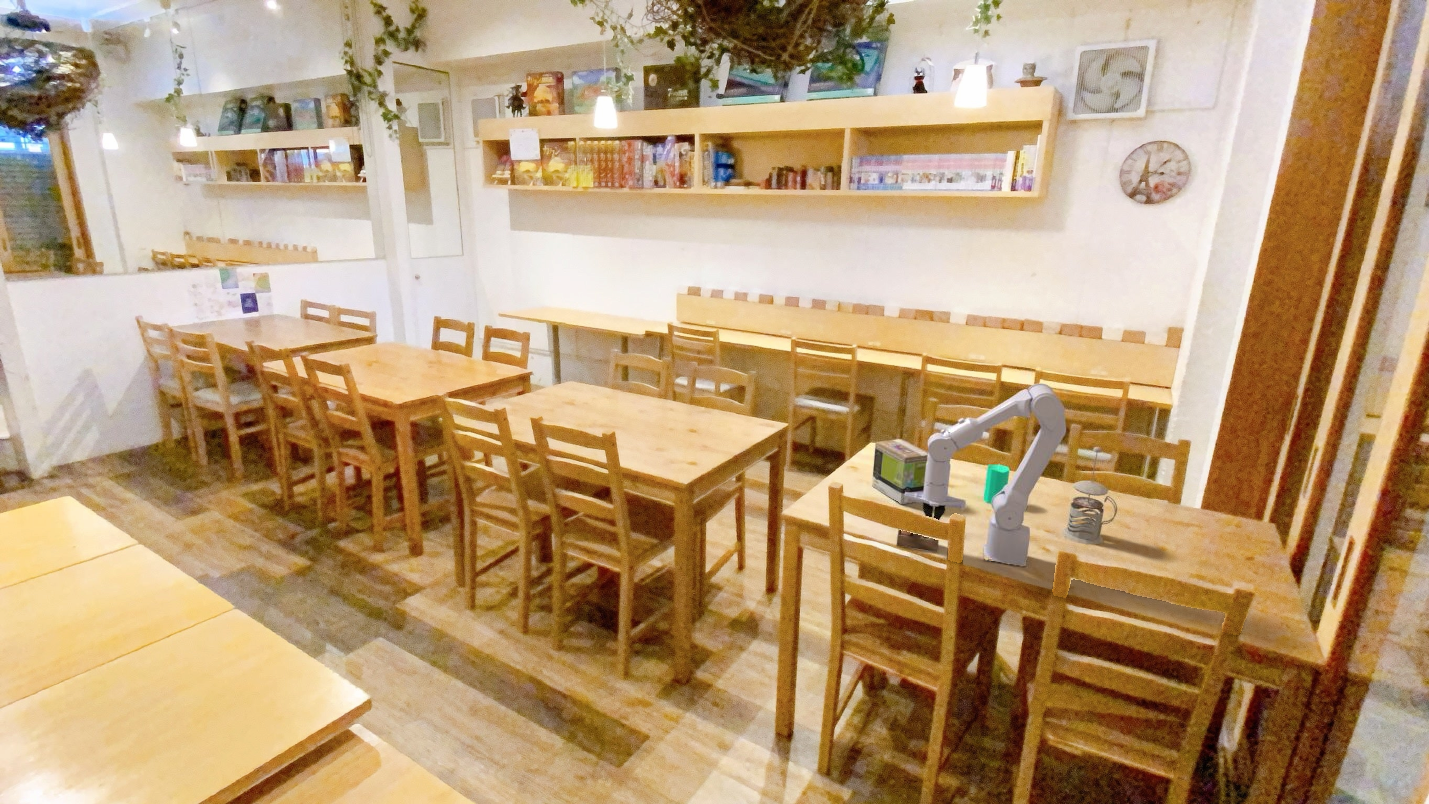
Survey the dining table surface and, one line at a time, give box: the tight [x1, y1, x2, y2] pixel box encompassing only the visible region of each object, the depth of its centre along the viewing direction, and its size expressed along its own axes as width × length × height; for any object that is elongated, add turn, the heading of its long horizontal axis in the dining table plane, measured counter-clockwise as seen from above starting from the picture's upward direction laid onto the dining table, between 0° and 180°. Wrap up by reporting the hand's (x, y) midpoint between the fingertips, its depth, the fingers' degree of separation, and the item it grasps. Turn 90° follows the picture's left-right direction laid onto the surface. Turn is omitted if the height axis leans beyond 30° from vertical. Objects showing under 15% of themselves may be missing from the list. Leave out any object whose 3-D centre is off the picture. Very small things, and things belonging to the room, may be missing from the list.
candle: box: [982, 464, 1010, 505], centre depth 202 cm, size 6×6×12 cm
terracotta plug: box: [901, 530, 911, 536], centre depth 177 cm, size 4×4×4 cm
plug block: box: [896, 529, 940, 553], centre depth 177 cm, size 10×4×3 cm, turn 71°
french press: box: [1061, 446, 1118, 545], centre depth 179 cm, size 10×12×25 cm
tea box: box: [871, 438, 928, 505], centre depth 206 cm, size 15×10×15 cm, turn 22°
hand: (931, 530), depth 175 cm, fingers closed
